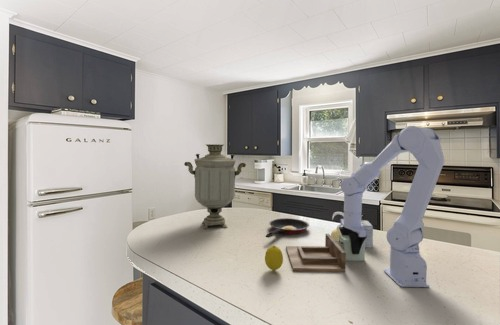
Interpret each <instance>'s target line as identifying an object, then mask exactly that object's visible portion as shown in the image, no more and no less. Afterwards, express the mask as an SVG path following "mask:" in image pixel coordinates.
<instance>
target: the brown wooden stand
mask: <svg viewBox="0 0 500 325" xmlns="http://www.w3.org/2000/svg"><path fill="white" fill-rule="evenodd" d="M324 238H325V244H324V246H321V245H320V246H318V245H317V246H316V245H314V246H310V245H309V246H307V245H303V246H302V245H301V246H300V245H296V246H295V245H285V250H286V253H287V256H288V258H289V263H290V266H291V269H292V272H318V273H319V272H321V273H323V272H326V273H327V272H329V273H330V272H331V273H346V265H347V264H346V261H347V260H346V253H345V251H344V250H343V249H342V248H341V247H340V246H339V243H338V242H336V241H335V240H334V239H333V238H332V237H331V234H330V233H325V237H324Z"/></svg>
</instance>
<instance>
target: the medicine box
mask: <svg viewBox="0 0 500 325" xmlns="http://www.w3.org/2000/svg"><path fill="white" fill-rule="evenodd" d="M361 224H363V225H364V227H363V229H364V230H365V231H366V235H367V238H366V239H365V249H366V248H369V249H372V248H373V246H374V243H373V242H374V226H373V225H372V223H370V222H369V220H365V219H364V220H363V219H361Z"/></svg>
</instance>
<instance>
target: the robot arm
mask: <svg viewBox="0 0 500 325" xmlns="http://www.w3.org/2000/svg"><path fill="white" fill-rule="evenodd" d="M408 152H409V153H410V154H412V156H413V157H414V159H416V161H417V162H418V166H417V168H416V171H415V174H414V176H413V179H412V182H411V185H410V188H409V191H408V194H407V196H406V200H405V201H404V202H405V203H404V205H403V208H402V211H401V213H400V215H399V216H398V218H396V220H395V221H394V223H393V226H391V228H389V229H388V230H387V232H386V240H387V243H388V244H389V245H390V250H389V251H390V252H389V269H387V268H386V269H385V268H384V269H383V272H384V273H385V274H387V276H388V277H389V278H390V279H391V280H393V281H394V282H395V283H396V284H397V285H398V286H399V287H402V288H403V287H404V288H405V287H406V288H407V287H410V288H430V285H429V283H427V267H428V265H427V261H426V260H425V259H424V258H423V257H422V255H421V254H420V253H421V252H420V246H419V244H420V243H421V242H422V241H423V239H424V232H423V231H424V226H425V223H424V220H423V219H424V216H425V213H426V210H427V209H428V205H429V203H430V200H431V198H432V195H433V193H434V189H435V188H436V184H437V182H438V180H439V177H440V174H441V172H442V169H443V167H444V164H445V156H444V153H443V149H442V146H441V137H440V136H439V135H438V134H437V132H436V131H435V130H434V129H432V128H429V127H419V126H415V125H409V126H406V127H404V128H402V129H401V131H400V132H399V133H397V134H396V135H394V137H393V138H392V139H391V141H390V143H388V144H387V145H386V146H385V147H384V149H383V150H381V152H380V153H379V154H377V156H376V157H375V158H374V159H373V160H371V161H366V162H362V163H361V164H360V165H359V169H357V170H356V171H355V172H352V173H351V174H350V177H345V178H343V179H342V181H341V183H340V189H341V191H342V193H343V194H344V195H343V198H344V199H343V213H344V217H343V218H340V224H341V225H343V226H341V227H339V230H340V232H341V234H342V235H349V238H350V241H351V249H352V254H359V253H360V249H361V246H362V244H363V242H364V240H365V239H366V238H367V235H366V231H365V230H364V229H363V227H364V225H363V224H361V220H362V210H363V197H364V196H363V194H364V193H365V191H366V189H367V186H368V185H370V184H371V183H372V182H373V181H375V179H377V178H378V177H379V176H380V175H381V169H382V168H384V167H385V166H386V165H388V163H390V162H391V161H393V159H395V158H397V156H399V155H400V154H402V153H408Z"/></svg>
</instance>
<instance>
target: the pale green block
mask: <svg viewBox="0 0 500 325" xmlns="http://www.w3.org/2000/svg"><path fill="white" fill-rule="evenodd" d="M338 245H339V246H340V247H341V248H342V249H343V250H344V251H345V253H346V261H356V262H358V261H366V260H365V258H366V256H365V255H366V247H365V240H364V242H363V244H362V246H361V249H360V253H359V254H352V249H351V241H350V238H349V235H339V242H338Z"/></svg>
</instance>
